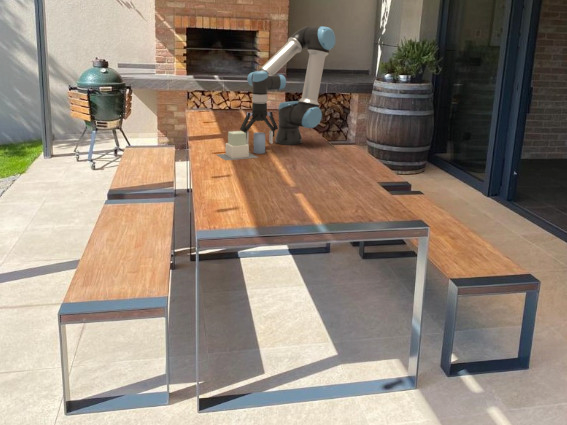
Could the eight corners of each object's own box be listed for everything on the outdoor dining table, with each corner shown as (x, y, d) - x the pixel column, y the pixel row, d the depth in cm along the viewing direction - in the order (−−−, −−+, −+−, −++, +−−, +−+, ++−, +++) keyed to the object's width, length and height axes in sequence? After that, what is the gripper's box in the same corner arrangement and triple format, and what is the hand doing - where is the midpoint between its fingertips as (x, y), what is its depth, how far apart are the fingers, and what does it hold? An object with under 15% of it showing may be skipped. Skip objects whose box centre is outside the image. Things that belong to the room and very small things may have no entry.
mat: (248, 153, 336) (248, 151, 335) (259, 159, 324) (258, 157, 323) (215, 156, 328) (215, 154, 328) (225, 162, 316) (225, 160, 316)
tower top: (240, 142, 328) (240, 130, 326) (246, 145, 322) (246, 133, 320) (228, 143, 325) (227, 131, 323) (233, 146, 319) (233, 134, 317)
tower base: (242, 153, 331) (242, 142, 329) (248, 157, 324) (248, 145, 322) (225, 154, 328) (225, 143, 326) (232, 158, 320) (231, 146, 318)
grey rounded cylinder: (262, 152, 339) (262, 132, 336) (267, 155, 334) (267, 134, 330) (251, 153, 336) (251, 132, 333) (256, 155, 331) (256, 134, 328)
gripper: (278, 100, 335) (277, 141, 342) (234, 102, 325) (233, 143, 331) (284, 102, 329) (283, 143, 335) (239, 104, 319) (239, 146, 325)
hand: (258, 143), depth 333 cm, fingers open, 13 cm apart
